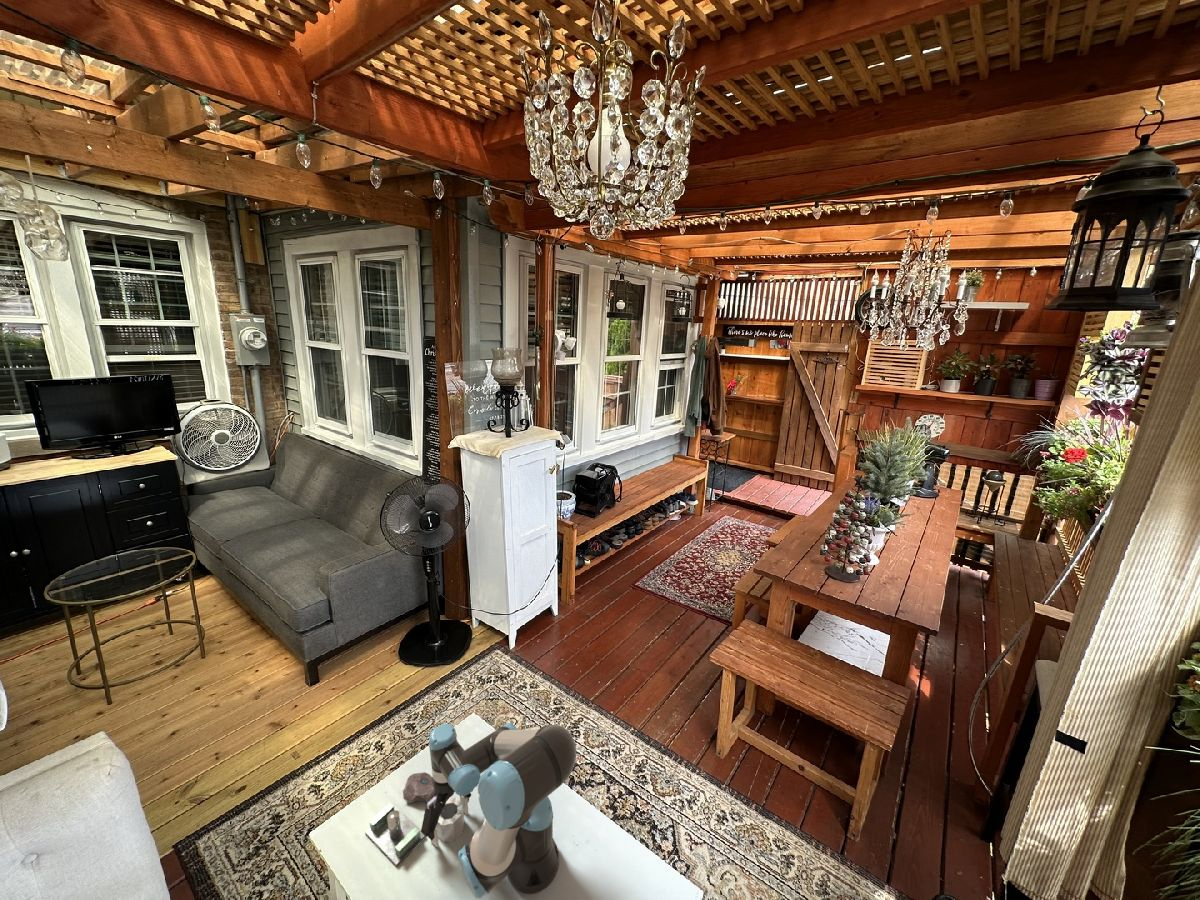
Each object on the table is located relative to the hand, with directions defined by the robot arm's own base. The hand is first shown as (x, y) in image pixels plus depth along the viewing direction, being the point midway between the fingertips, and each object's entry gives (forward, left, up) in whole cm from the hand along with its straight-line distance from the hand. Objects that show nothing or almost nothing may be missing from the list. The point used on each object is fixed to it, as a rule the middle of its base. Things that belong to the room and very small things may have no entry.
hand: (450, 827), depth 147 cm
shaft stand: (+12, +11, 0) cm, 16 cm away
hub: (0, 0, 0) cm, 0 cm away
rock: (+17, -2, -1) cm, 17 cm away
